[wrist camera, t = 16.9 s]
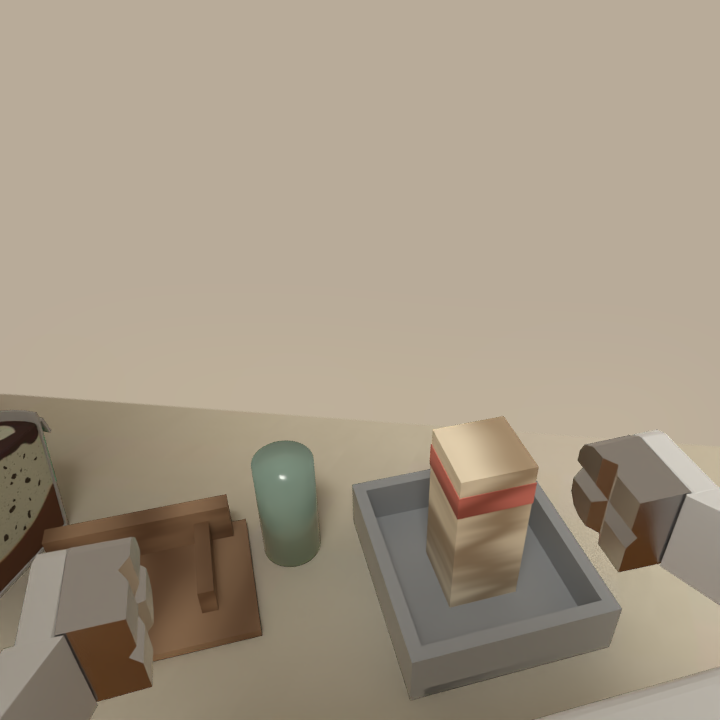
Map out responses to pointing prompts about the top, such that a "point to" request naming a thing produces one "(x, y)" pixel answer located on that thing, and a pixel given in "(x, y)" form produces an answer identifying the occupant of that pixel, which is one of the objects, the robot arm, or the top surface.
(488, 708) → the top surface
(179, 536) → the walnut rack
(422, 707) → the top surface
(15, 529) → the food container
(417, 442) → the top surface
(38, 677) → the robot arm
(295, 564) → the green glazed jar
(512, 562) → the birch block
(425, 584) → the grey tray
